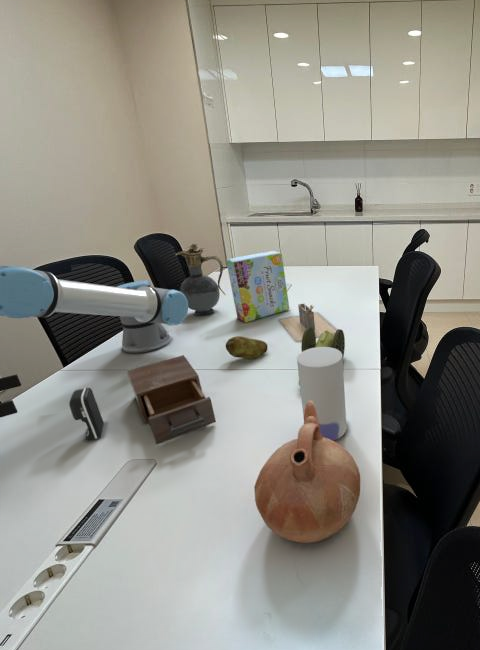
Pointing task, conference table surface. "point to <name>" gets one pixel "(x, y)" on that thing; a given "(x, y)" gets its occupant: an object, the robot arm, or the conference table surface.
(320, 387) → the container
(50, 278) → the robot arm
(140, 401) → the cabinet
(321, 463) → the jug
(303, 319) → the ruin model on sheet
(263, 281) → the snack box
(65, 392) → the conference table surface
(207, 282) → the pitcher
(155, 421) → the drawer
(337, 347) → the cannon
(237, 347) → the potato
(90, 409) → the battery charger
